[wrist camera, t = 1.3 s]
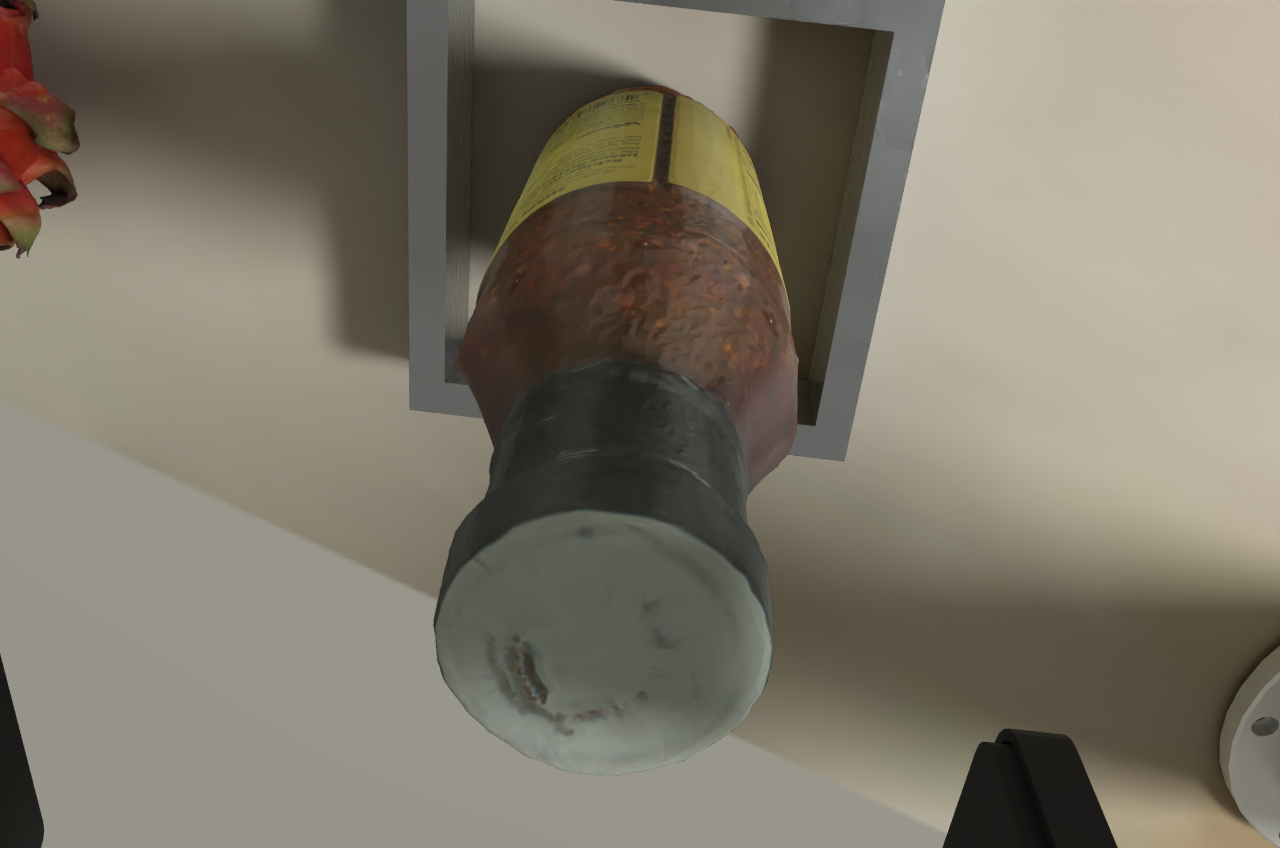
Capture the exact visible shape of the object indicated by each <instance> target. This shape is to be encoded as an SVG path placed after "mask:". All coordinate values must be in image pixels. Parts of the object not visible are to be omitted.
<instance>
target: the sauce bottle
mask: <svg viewBox="0 0 1280 848" xmlns="http://www.w3.org/2000/svg"><path fill="white" fill-rule="evenodd" d="M798 363H799V359H798V357H797V355H796V351H795V347H794V340H793V337H792V334H791V321H790V306H789V302H788V297H787V292H786V288H785V284H784V280H783V276H782V273H781V269H780V265H779V260H778V256H777V252H776V247H775V243H774V239H773V235H772V231H771V227H770V223H769V219H768V215H767V211H766V208H765V204H764V200H763V196H762V192H761V188H760V185H759V181H758V178H757V174H756V171H755V168H754V166H753V163H752V161H751V158H750V156H749V154H748V153H747V151H746V149H745V147H744V145H743V144H742V143H741V141H740V140H739V137H738V135H737V133H736V131H735V130H734V129H733V128H732V127H731V126H728V125H727V124H726V123H725V122H724V121H723V120H722V119H721V118H719V117H718V116H717V115H716V114H715V113H714V112H713V111H711V110H710V109H708V108H707V107H705V106H704V105H702V104H701V103H699V102H696V101H695V100H693V99H692V98H690V97H688V96H685V95H681V94H680V93H678V92H677V91H675V90H672V89H670V88H667V87H663V86H635V87H630V88H626V89H619V90H617V91H615V92H613V93H611V94H608V95H605V96H603V97H600V98H598V99H596V100H593V101H591V102H590V103H588V104H585V105H582V106H581V107H579V108H578V109H577V110H576V111H575V112H574V113H573V114H572V115H570V116H569V117H568V118H567V119H566V121H565V122H564V123H563V124H562V125H561V126H560V127H559V128H558V129H557V130H556V131H555V132H554V134H553V135H552V136H551V138H550V139H549V140H548V142H547V143H546V145H545V147H544V148H543V150H542V152H541V153H540V155H539V157H538V159H537V161H536V163H535V166H534V168H533V170H532V172H531V174H530V176H529V179H528V181H527V183H526V185H525V187H524V190H523V192H522V194H521V196H520V198H519V200H518V202H517V204H516V206H515V208H514V210H513V212H512V214H511V217H510V219H509V221H508V223H507V226H506V228H505V230H504V232H503V234H502V237H501V239H500V241H499V244H498V246H497V248H496V250H495V252H494V254H493V256H492V258H491V260H490V262H489V264H488V267H487V269H486V272H485V274H484V277H483V279H482V282H481V284H480V288H479V291H478V295H477V301H476V307H475V309H474V312H473V315H472V317H471V319H470V321H469V323H468V325H467V329H466V332H465V335H464V338H463V341H462V343H461V344H460V346H459V350H458V354H457V358H456V365H457V367H458V368H459V370H460V372H461V373H462V375H463V377H464V378H465V380H466V382H467V384H468V386H469V388H470V390H471V392H472V394H473V396H474V398H475V400H476V402H477V403H478V406H479V409H480V411H481V414H482V416H483V419H484V422H485V424H486V427H487V429H488V432H489V435H490V438H491V440H492V443H493V446H494V452H493V455H492V457H491V462H490V470H489V473H490V483H489V487H488V491H487V493H486V496H485V498H484V499H483V500H482V501H481V502H480V503H479V504H478V505H477V506H476V507H475V508H474V509H473V510H472V511H471V512H470V513H469V514H468V515H467V516H466V518H465V519H464V520H463V522H462V523H461V525H460V526H459V527H458V529H457V530H456V532H455V535H454V538H453V541H452V544H451V547H450V550H449V556H448V560H447V564H446V567H445V570H444V576H443V581H442V586H441V589H440V594H439V598H438V602H437V607H436V612H435V616H434V625H433V626H434V631H435V636H436V649H437V661H438V664H439V666H440V669H441V673H442V676H443V678H444V681H445V682H446V684H447V685H448V687H449V688H450V690H451V691H452V693H453V694H454V695H455V696H456V698H457V699H458V700H459V701H460V703H461V704H462V705H463V707H464V708H465V709H466V711H467V712H468V713H469V714H470V715H471V716H472V717H473V718H474V719H476V720H477V721H478V722H479V723H480V724H481V725H482V726H483V727H485V728H486V729H487V730H488V731H489V732H491V733H492V734H494V735H495V736H497V737H498V738H500V739H501V740H503V741H504V742H506V743H508V744H509V745H510V746H512V747H513V748H515V749H516V750H517V751H519V752H520V753H522V754H523V755H524V756H526V757H529V758H532V759H536V760H539V761H542V762H544V763H547V764H549V765H551V766H553V767H556V768H557V769H560V770H564V771H570V772H575V773H581V774H590V775H616V776H619V775H625V774H630V773H636V772H641V771H646V770H650V769H654V768H657V767H661V766H665V765H668V764H672V763H676V762H680V761H684V760H685V759H687V758H689V757H690V756H692V755H694V754H696V753H697V752H699V751H701V750H703V749H705V748H707V747H709V746H711V745H712V744H714V743H715V742H717V741H718V740H720V739H721V738H723V737H724V736H725V735H726V734H728V733H729V732H730V731H731V730H733V729H734V728H735V727H736V726H737V725H739V724H740V723H741V722H742V721H743V720H744V718H745V717H746V716H747V714H748V713H749V711H750V709H751V707H752V705H753V704H754V703H755V701H756V700H757V699H758V698H759V696H760V695H761V694H762V692H763V690H764V688H765V685H766V683H767V681H768V675H769V670H770V668H771V663H772V654H773V629H772V603H771V595H770V582H769V575H768V571H767V562H766V561H765V559H764V557H763V555H762V553H761V551H760V548H759V544H758V542H757V540H756V538H755V536H754V534H753V532H752V530H751V529H750V527H749V526H748V525H747V516H746V500H747V496H748V495H749V493H750V492H751V491H752V490H753V489H754V488H755V486H756V485H757V484H758V483H759V482H760V481H761V480H762V479H763V478H764V477H765V476H766V475H767V474H769V473H770V472H771V471H772V470H774V469H775V468H776V467H777V466H778V465H779V463H780V462H781V461H782V460H783V459H784V458H785V457H786V456H787V455H788V454H789V453H790V451H791V448H792V444H793V441H794V438H795V436H796V434H797V381H798V380H797V378H798Z"/></svg>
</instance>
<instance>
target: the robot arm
mask: <svg viewBox="0 0 1280 848" xmlns="http://www.w3.org/2000/svg"><path fill="white" fill-rule="evenodd" d="M1220 765H1221V769H1222V772H1223V776H1224V780H1225V783H1226V786H1227V787H1228V789H1229V791H1230V793H1231V794H1232V796H1233V798H1234V800H1235V802H1236V804H1237V806H1238V808H1239V810H1240V812H1241V813H1242V814H1243V816H1244V817H1245V818H1246V819H1247V820H1248V822H1249V823H1250V824H1251V825H1252V826H1253V828H1254V829H1255V830H1256V831H1257V832H1258V833H1259V834H1260V835H1262V836H1263V837H1264V838H1265V839H1267V840H1268V841H1269V842H1270V843H1272V844H1273V845H1275V846H1276V847H1278V848H1280V646H1279V647H1278V648H1276V649H1275V650H1274V651H1273V652H1272V653H1271V654H1269V655H1268V656H1267V657H1266V658H1265V659H1264V660H1262V662H1261V663H1260V664H1259V665H1258V666H1257V668H1256V669H1255V670H1254V671H1253V672H1252V674H1251V675H1250V676H1249V677H1248V678H1247V680H1246V681H1245V682H1244V683H1243V684H1242V686H1241V687H1240V689H1239V691H1238V693H1237V695H1236V696H1235V698H1234V700H1233V702H1232V704H1231V706H1230V707H1229V709H1228V711H1227V714H1226V718H1225V721H1224V725H1223V728H1222V732H1221V735H1220ZM43 835H44V825H43V819H42V815H41V812H40V808H39V804H38V800H37V796H36V792H35V788H34V784H33V780H32V776H31V773H30V769H29V765H28V761H27V757H26V753H25V749H24V745H23V741H22V737H21V733H20V729H19V726H18V722H17V718H16V714H15V710H14V706H13V702H12V698H11V694H10V690H9V687H8V683H7V679H6V675H5V671H4V667H3V663H2V659H1V655H0V848H41V846H42V842H43ZM943 848H1118V847H1117V845H1116V843H1115V840H1114V838H1113V835H1112V833H1111V831H1110V828H1109V826H1108V823H1107V821H1106V819H1105V816H1104V814H1103V811H1102V809H1101V807H1100V804H1099V802H1098V799H1097V797H1096V795H1095V792H1094V790H1093V787H1092V785H1091V783H1090V780H1089V778H1088V775H1087V773H1086V771H1085V768H1084V766H1083V763H1082V761H1081V759H1080V756H1079V754H1078V751H1077V749H1076V747H1075V745H1074V744H1073V742H1072V740H1071V739H1070V738H1069V737H1067V736H1066V735H1062V734H1053V733H1044V732H1035V731H1026V730H1017V729H1003V730H1002V731H1001V732H1000V733H999V735H998V737H997V739H996V741H995V743H991V742H981V743H980V744H979V746H978V748H977V750H976V752H975V755H974V758H973V761H972V764H971V767H970V770H969V772H968V775H967V778H966V781H965V784H964V787H963V790H962V793H961V796H960V799H959V801H958V804H957V807H956V810H955V813H954V816H953V819H952V822H951V825H950V827H949V830H948V833H947V836H946V839H945V842H944V845H943Z"/></svg>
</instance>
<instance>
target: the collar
mask: <svg viewBox="0 0 1280 848" xmlns="http://www.w3.org/2000/svg"><path fill="white" fill-rule="evenodd" d="M616 1H625V2H634V3H643V4H652V5H661V6H670V7H679V8H687V9H696V10H705V11H714V12H723V13H732V14H741V15H750V16H759V17H768V18H776V19H785V20H794V21H803V22H812V23H821V24H830V25H839V26H848V27H857V28H865V29H874V30H875V33H874V38H873V43H872V48H871V53H870V59H869V64H868V69H867V74H866V79H865V85H864V90H863V95H862V100H861V106H860V111H859V116H858V121H857V126H856V132H855V137H854V142H853V147H852V152H851V158H850V163H849V168H848V173H847V178H846V184H845V189H844V194H843V199H842V205H841V210H840V215H839V220H838V225H837V231H836V236H835V241H834V246H833V251H832V257H831V262H830V267H829V272H828V278H827V283H826V288H825V293H824V298H823V304H822V309H821V314H820V319H819V324H818V330H817V335H816V340H815V345H814V351H813V356H812V361H811V366H810V371H809V377H808V380H800V379H797V380H798V381H797V434H796V436H795V438H794V441H793V444H792V448H791V451H790V453H789V454H788V455H795V456H804V457H812V458H820V459H829V460H837V461H844V460H845V456H846V451H847V447H848V442H849V437H850V433H851V428H852V424H853V419H854V415H855V410H856V405H857V401H858V396H859V392H860V387H861V383H862V378H863V374H864V369H865V364H866V360H867V355H868V351H869V346H870V342H871V337H872V332H873V328H874V323H875V319H876V314H877V310H878V305H879V300H880V296H881V291H882V287H883V282H884V278H885V273H886V268H887V264H888V259H889V255H890V250H891V246H892V241H893V237H894V232H895V227H896V223H897V218H898V214H899V209H900V205H901V200H902V195H903V191H904V186H905V182H906V177H907V173H908V168H909V163H910V159H911V154H912V150H913V145H914V141H915V136H916V131H917V127H918V122H919V118H920V113H921V109H922V104H923V100H924V95H925V90H926V86H927V81H928V77H929V72H930V68H931V63H932V58H933V54H934V49H935V45H936V40H937V36H938V31H939V26H940V22H941V17H942V13H943V8H944V4H945V0H616ZM406 6H407V134H408V263H409V391H410V410H417V411H425V412H434V413H442V414H451V415H459V416H467V417H476V418H483V416H482V414H481V411H480V409H479V406H478V403H477V402H476V400H475V398H474V396H473V394H472V392H471V390H470V388H469V386H468V384H467V382H466V380H465V378H464V377H463V375H462V373H461V372H460V370H459V368H458V367H457V365H456V358H457V354H458V350H459V346H460V344H461V343H462V341H463V338H464V335H465V332H466V329H467V325H468V286H469V238H470V190H471V143H472V95H473V47H474V0H406Z"/></svg>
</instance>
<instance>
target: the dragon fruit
mask: <svg viewBox="0 0 1280 848" xmlns="http://www.w3.org/2000/svg"><path fill="white" fill-rule="evenodd" d="M32 15H33V17H34V20H35V19H36V18H38V16H39V15H38V12H37V10H36V3H35V2H34V1H33V0H0V250H1V251H3V250H5V249H6V250H7V249H10V248H12V247H13V246H14V245H15V243H16V246H17V248H19V250H18V252H17V255H16V257H17V258H20V255H21V254H22V253H24V252H25V251H26V250H27V257H28V253H29V250H30V248H31V246H32V245H33V242H34V240H35V238H36V236H37V235H38V233H39V231H40V228H41V216H40V213H39V210H40V209H46V208H48V209H51V208H53V207H61V206H63V205H65V204H67V203H69V202H71V201H74V200H75V199H76V197H77V192H76V188H75V186H74V181H73V178H72V175H71V173H70V170H69V168H68V167H67V165H66V163H65V162H64V161H63V160H62V159H61V158H60V157H59V156H58V154H57V152H61V153H64V154H67V155H69V154H71V153H73V152H74V151H76V150H78V148H79V146H80V143H79V140H78V136H77V133H76V131H75V127H74V121H75V112H74V111H73V110H72V109H70V108H69V107H68V106H67V105H65V104H64V103H63V102H62V101H60V100H59V99H57V98H56V97H54V96H51V95H50V93H49V92H48V90H47V89H46V88H44V87H43V86H42V85H41V84H40V83H39V82H36V81H34V76H33V67H32V61H31V53H30V46H29V42H28V27H29V25H30V22H31V18H32ZM35 179H36V180H38V181H39V182H41V183H42V184H43V185H44V186H45V187H47V188H48V189H49V190H50V192H51V193H52V194H51V195H49V196H45V197H40V199H42V202H41V204H40V205H38V204H37V202H36V200H35V198H34V197H33V196H32V194H31V193H30V191H29V190H28V188H27V187H26V185H27V184H29V183H31V182H32V181H33V180H35ZM39 208H40V209H39Z"/></svg>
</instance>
